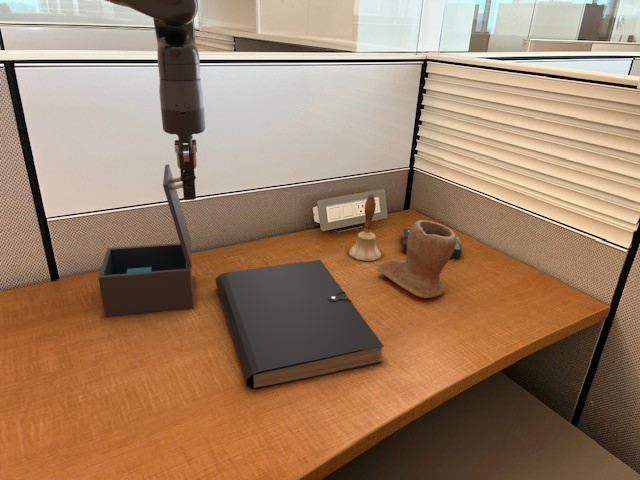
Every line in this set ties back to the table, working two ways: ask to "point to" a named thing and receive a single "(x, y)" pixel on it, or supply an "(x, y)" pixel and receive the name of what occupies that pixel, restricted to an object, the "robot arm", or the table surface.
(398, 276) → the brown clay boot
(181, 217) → the bin lid
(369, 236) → the hand bell
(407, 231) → the disk drive
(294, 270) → the dark grey notebook
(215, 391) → the table surface
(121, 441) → the table surface
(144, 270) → the block
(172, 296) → the bin
